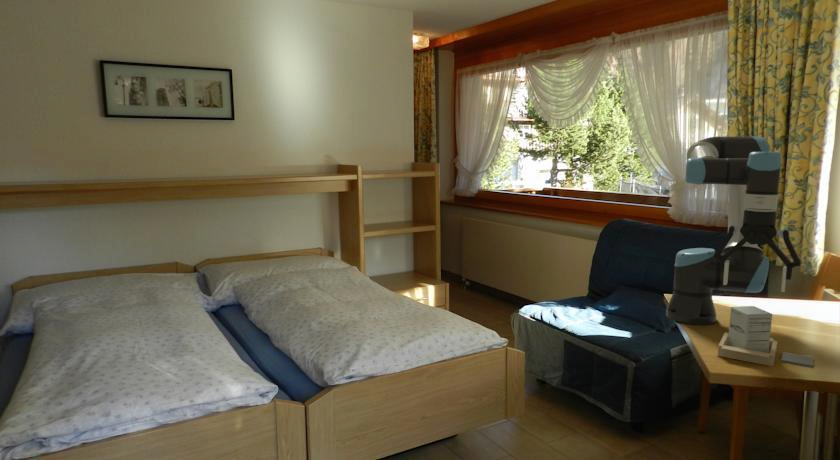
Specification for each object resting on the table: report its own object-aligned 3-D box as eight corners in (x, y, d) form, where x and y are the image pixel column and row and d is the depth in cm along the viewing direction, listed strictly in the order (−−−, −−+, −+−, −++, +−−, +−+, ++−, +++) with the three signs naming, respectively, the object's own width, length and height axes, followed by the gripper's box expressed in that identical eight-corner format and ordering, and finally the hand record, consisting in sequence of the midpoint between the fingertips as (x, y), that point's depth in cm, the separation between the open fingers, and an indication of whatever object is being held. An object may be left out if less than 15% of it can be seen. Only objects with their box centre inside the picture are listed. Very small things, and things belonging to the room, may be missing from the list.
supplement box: (726, 349, 160) (729, 306, 158) (751, 348, 161) (754, 305, 159) (743, 359, 153) (747, 314, 151) (769, 358, 153) (773, 313, 152)
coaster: (780, 361, 151) (781, 359, 151) (782, 353, 157) (782, 351, 157) (812, 367, 147) (813, 365, 147) (813, 359, 153) (813, 357, 153)
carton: (716, 357, 154) (717, 347, 153) (725, 340, 167) (726, 330, 167) (772, 368, 146) (773, 357, 146) (776, 349, 160) (777, 339, 159)
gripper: (706, 208, 155) (700, 283, 158) (817, 214, 140) (808, 297, 144) (710, 205, 161) (705, 278, 164) (817, 211, 146) (809, 291, 150)
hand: (753, 287), depth 154 cm, fingers open, 13 cm apart
